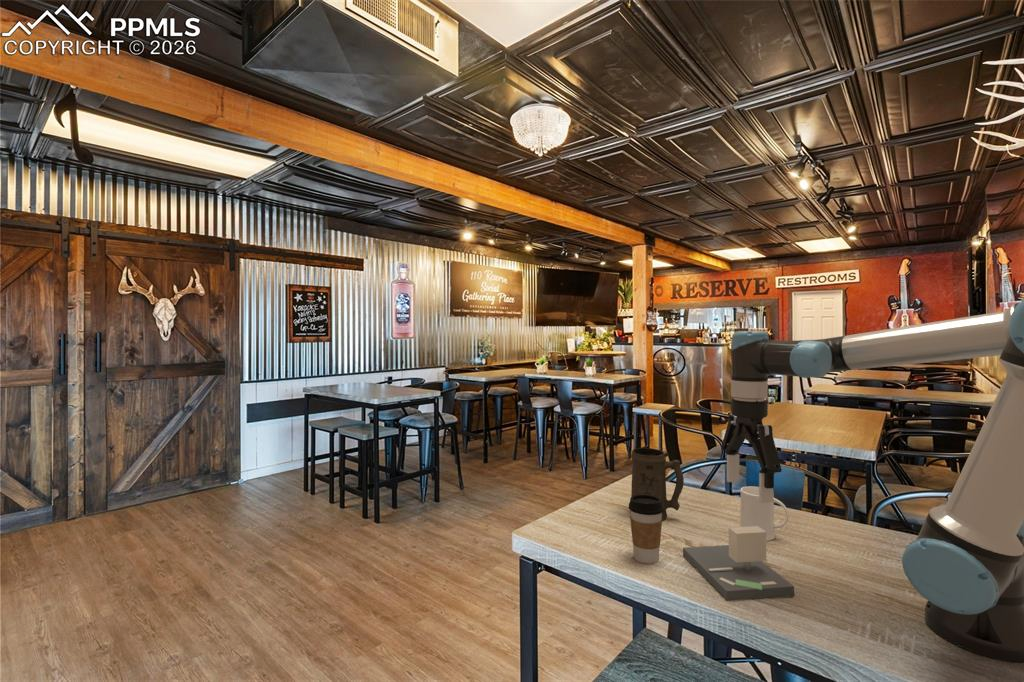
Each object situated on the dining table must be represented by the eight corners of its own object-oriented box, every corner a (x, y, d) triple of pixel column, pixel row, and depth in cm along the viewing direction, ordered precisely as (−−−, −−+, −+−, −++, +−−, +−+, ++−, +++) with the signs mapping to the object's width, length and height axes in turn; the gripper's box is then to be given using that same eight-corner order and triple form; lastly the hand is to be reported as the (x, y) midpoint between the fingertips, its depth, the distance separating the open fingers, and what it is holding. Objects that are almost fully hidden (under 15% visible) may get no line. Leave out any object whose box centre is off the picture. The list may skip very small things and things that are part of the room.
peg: (766, 571, 108) (766, 531, 108) (713, 575, 107) (713, 535, 107) (757, 564, 111) (757, 526, 111) (705, 568, 110) (705, 529, 110)
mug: (791, 537, 130) (791, 492, 130) (783, 548, 124) (783, 501, 123) (744, 525, 138) (744, 483, 138) (735, 535, 132) (735, 491, 131)
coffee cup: (639, 568, 114) (639, 505, 114) (622, 552, 122) (622, 494, 122) (671, 563, 116) (670, 501, 116) (651, 548, 125) (651, 490, 124)
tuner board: (795, 596, 102) (795, 587, 101) (727, 601, 100) (727, 591, 100) (740, 552, 122) (740, 544, 122) (683, 555, 120) (683, 547, 120)
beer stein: (626, 520, 143) (630, 453, 142) (628, 506, 153) (632, 444, 152) (681, 529, 138) (686, 460, 137) (679, 515, 149) (684, 451, 148)
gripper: (801, 407, 98) (800, 511, 98) (736, 391, 123) (735, 474, 123) (765, 408, 97) (764, 512, 98) (707, 391, 122) (707, 474, 123)
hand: (748, 491), depth 110 cm, fingers open, 13 cm apart
